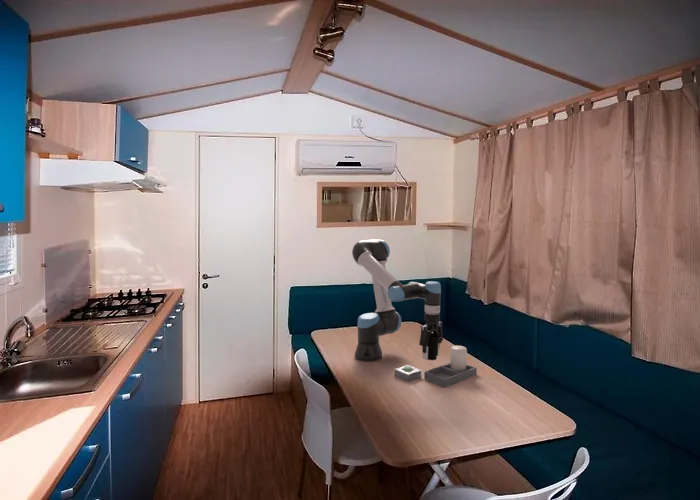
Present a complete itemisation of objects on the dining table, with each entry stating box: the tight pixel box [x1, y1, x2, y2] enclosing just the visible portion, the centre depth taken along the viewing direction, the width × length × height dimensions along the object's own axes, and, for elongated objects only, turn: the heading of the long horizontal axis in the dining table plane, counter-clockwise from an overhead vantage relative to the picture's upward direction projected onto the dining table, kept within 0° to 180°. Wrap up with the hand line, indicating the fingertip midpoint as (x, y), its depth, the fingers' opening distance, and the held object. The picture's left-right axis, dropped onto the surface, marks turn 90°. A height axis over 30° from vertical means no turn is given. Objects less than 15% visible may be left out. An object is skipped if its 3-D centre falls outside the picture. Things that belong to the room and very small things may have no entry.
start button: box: [404, 365, 413, 372], centre depth 200 cm, size 4×4×4 cm
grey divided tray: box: [423, 362, 478, 388], centre depth 200 cm, size 12×24×4 cm, turn 128°
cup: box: [427, 332, 439, 361], centre depth 209 cm, size 8×8×12 cm
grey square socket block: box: [394, 364, 422, 383], centre depth 200 cm, size 9×9×4 cm
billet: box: [449, 345, 468, 373], centre depth 203 cm, size 8×8×12 cm
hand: (430, 356), depth 209 cm, fingers closed on cup, 8 cm apart
